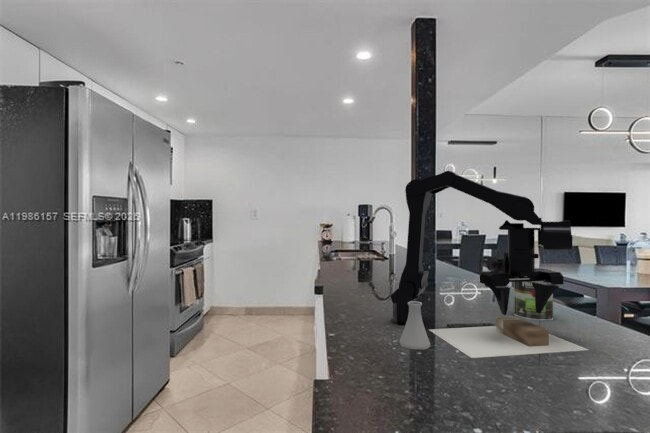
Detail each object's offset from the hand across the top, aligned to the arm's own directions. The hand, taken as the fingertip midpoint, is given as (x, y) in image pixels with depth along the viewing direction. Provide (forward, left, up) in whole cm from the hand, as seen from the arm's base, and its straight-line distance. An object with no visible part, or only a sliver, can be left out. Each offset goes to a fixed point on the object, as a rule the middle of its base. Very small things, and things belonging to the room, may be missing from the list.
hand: (521, 313), depth 89 cm
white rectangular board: (-5, 0, -6) cm, 8 cm away
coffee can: (+18, +18, -6) cm, 26 cm away
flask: (-27, 0, -6) cm, 28 cm away
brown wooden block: (0, 0, -6) cm, 6 cm away
